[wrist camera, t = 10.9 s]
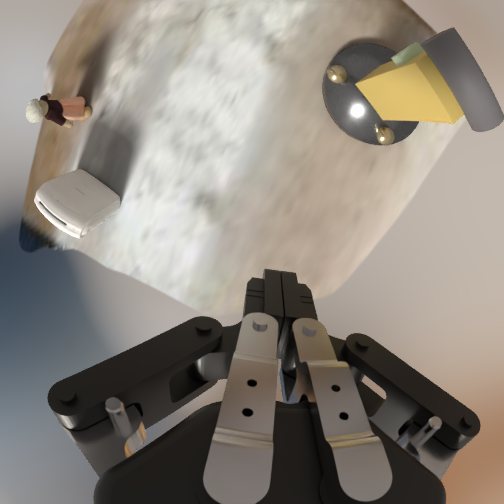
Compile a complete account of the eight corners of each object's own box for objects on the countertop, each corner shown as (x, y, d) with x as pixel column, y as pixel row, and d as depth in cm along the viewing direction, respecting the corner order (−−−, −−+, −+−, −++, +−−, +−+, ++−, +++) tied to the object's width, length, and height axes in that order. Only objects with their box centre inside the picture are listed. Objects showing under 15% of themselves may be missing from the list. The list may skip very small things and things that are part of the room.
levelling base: (366, 163, 39) (372, 166, 36) (300, 82, 34) (302, 80, 32) (432, 110, 34) (440, 110, 32) (374, 30, 29) (379, 26, 27)
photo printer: (125, 197, 42) (84, 224, 31) (114, 218, 44) (74, 250, 32) (80, 164, 40) (32, 182, 29) (71, 185, 41) (25, 208, 30)
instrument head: (384, 126, 34) (486, 138, 15) (348, 79, 31) (431, 43, 12) (407, 107, 32) (513, 109, 13) (373, 60, 30) (465, 21, 11)
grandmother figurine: (100, 108, 36) (50, 110, 24) (89, 128, 37) (37, 137, 26) (71, 87, 34) (20, 85, 23) (61, 107, 35) (9, 111, 24)
